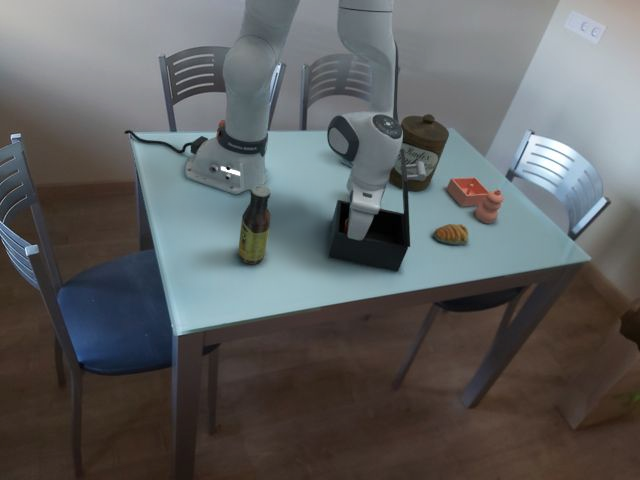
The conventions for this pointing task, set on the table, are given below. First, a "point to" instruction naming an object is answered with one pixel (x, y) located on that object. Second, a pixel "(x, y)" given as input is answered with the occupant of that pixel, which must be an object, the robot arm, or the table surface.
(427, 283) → the table surface
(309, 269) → the table surface
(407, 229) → the black bin lid
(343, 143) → the robot arm
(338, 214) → the black storage bin
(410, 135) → the wooden container
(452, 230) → the pastry
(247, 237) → the sauce bottle
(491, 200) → the pottery
